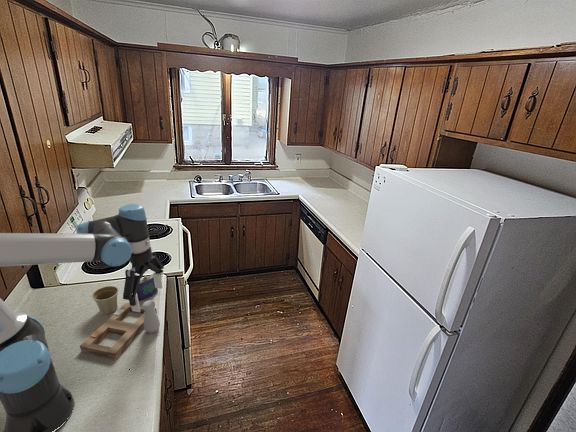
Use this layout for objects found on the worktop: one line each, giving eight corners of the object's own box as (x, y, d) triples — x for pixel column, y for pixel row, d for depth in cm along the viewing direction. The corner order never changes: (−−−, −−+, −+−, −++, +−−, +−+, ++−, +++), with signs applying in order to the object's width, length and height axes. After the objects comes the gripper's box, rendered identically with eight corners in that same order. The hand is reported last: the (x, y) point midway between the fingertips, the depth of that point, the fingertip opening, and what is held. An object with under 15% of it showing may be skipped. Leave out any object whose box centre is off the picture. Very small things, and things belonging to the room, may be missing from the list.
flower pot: (123, 300, 133) (119, 284, 129) (120, 314, 125) (117, 297, 121) (98, 304, 130) (94, 288, 126) (94, 319, 122) (89, 302, 118)
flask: (156, 289, 141) (153, 270, 136) (159, 292, 139) (156, 272, 135) (136, 299, 134) (132, 279, 129) (140, 302, 132) (136, 282, 128)
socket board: (116, 358, 105) (114, 352, 104) (81, 351, 107) (79, 345, 106) (156, 312, 127) (156, 307, 126) (126, 307, 129) (125, 301, 128)
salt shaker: (154, 336, 115) (150, 309, 110) (141, 334, 116) (136, 306, 111) (163, 325, 120) (159, 299, 115) (150, 323, 121) (146, 296, 116)
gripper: (123, 270, 92) (135, 324, 100) (169, 233, 114) (175, 280, 123) (102, 266, 93) (115, 320, 102) (151, 231, 116) (158, 278, 124)
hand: (148, 298), depth 112 cm, fingers open, 13 cm apart
